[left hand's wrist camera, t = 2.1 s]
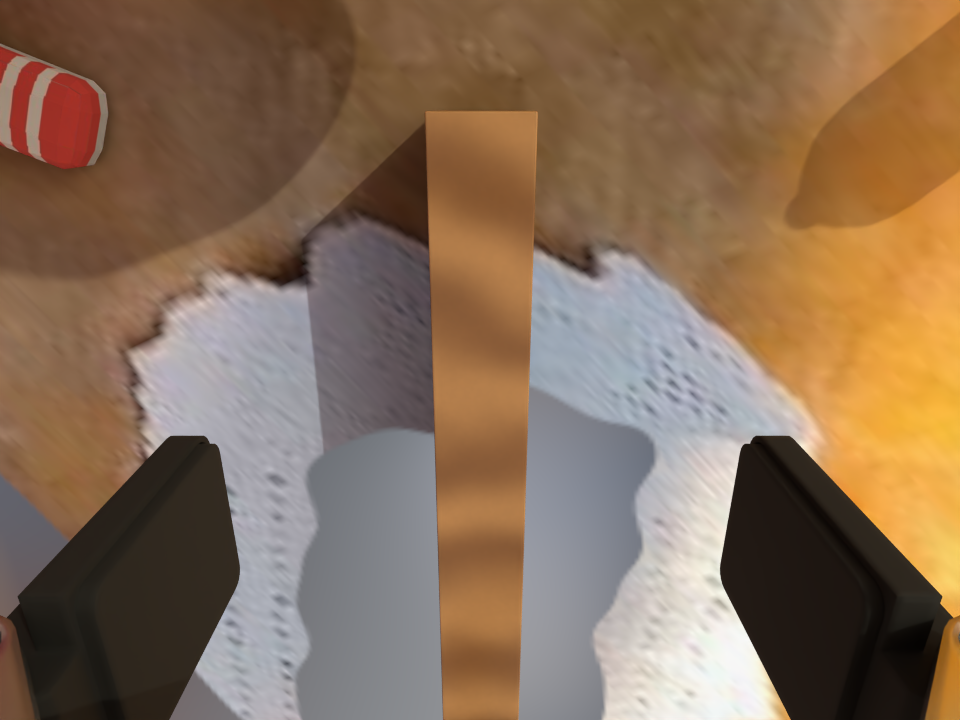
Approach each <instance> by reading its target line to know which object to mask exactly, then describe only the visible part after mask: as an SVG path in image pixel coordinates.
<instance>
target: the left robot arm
mask: <svg viewBox="0 0 960 720" xmlns="http://www.w3.org/2000/svg"><path fill="white" fill-rule="evenodd" d="M239 575H240V564H239V558H238V553H237V547H236V541H235V536H234V530H233V524H232V519H231V513H230V507H229V502H228V496H227V490H226V485H225V479H224V473H223V467H222V462H221V456H220V451H219V448H218V446H217V445H216V444H210V443H209V441H208V439H207V438H206V437H205V436H170V437H169V438H167V439H166V440H165V441H164V442H163V443H162V444H161V445H160V446H159V448H158V449H157V450H156V451H155V452H154V453H153V454H152V455H151V456H150V457H149V458H148V459H147V460H146V461H145V462H144V463H143V464H142V466H141V467H140V468H139V469H138V470H137V471H136V472H135V473H134V474H133V475H132V476H131V477H130V478H129V479H128V480H127V481H126V482H125V483H124V485H123V486H122V487H121V488H120V489H119V490H118V491H117V492H116V493H115V494H114V495H113V496H112V497H111V498H110V499H109V500H108V501H107V503H106V504H105V505H104V506H103V507H102V508H101V509H100V510H99V511H98V512H97V513H96V514H95V515H94V516H93V517H92V518H91V519H90V521H89V522H88V523H87V524H86V525H85V526H84V527H83V528H82V529H81V530H80V531H79V532H78V533H77V534H76V535H75V536H74V537H73V538H72V540H71V541H70V542H69V543H68V544H67V545H66V546H65V547H64V548H63V549H62V550H61V551H60V552H59V553H58V554H57V555H56V556H55V558H54V559H53V560H52V561H51V562H50V563H49V564H48V565H47V566H46V567H45V568H44V569H43V570H42V571H41V572H40V573H39V574H38V575H37V577H36V578H35V579H34V580H33V581H32V582H31V583H30V584H29V585H28V586H27V587H26V588H25V589H24V590H23V591H22V592H21V593H20V595H19V596H18V599H19V602H20V604H19V605H18V606H17V607H16V608H15V609H14V611H13V612H12V613H11V614H10V615H9V616H8V617H7V618H5V617H3V616H0V720H169V719H170V717H171V715H172V713H173V711H174V709H175V707H176V705H177V703H178V701H179V699H180V697H181V695H182V693H183V691H184V689H185V687H186V685H187V684H188V682H189V680H190V678H191V676H192V674H193V672H194V670H195V668H196V666H197V664H198V662H199V660H200V658H201V656H202V654H203V652H204V650H205V648H206V646H207V644H208V642H209V640H210V638H211V636H212V634H213V632H214V630H215V628H216V626H217V624H218V622H219V621H220V619H221V617H222V615H223V613H224V611H225V609H226V607H227V605H228V603H229V601H230V599H231V597H232V595H233V593H234V591H235V589H236V587H237V584H238V581H239ZM720 575H721V581H722V584H723V587H724V589H725V591H726V593H727V595H728V597H729V599H730V601H731V603H732V605H733V607H734V609H735V611H736V613H737V615H738V617H739V619H740V621H741V622H742V624H743V626H744V628H745V630H746V632H747V634H748V636H749V638H750V640H751V642H752V644H753V646H754V648H755V650H756V652H757V654H758V656H759V658H760V660H761V662H762V664H763V666H764V668H765V670H766V672H767V674H768V676H769V678H770V680H771V682H772V684H773V685H774V687H775V689H776V691H777V693H778V695H779V697H780V699H781V701H782V703H783V705H784V707H785V709H786V711H787V713H788V715H789V717H790V719H791V720H960V615H959V616H957V617H955V618H953V617H952V616H951V615H950V614H949V613H948V612H947V611H946V609H945V608H944V607H943V606H942V605H941V604H940V602H941V599H942V596H941V595H940V593H939V592H938V591H937V590H936V589H935V588H934V587H933V586H932V585H931V584H930V583H929V582H928V581H927V580H926V579H925V578H924V577H923V575H922V574H921V573H920V572H919V571H918V570H917V569H916V568H915V567H914V566H913V565H912V564H911V563H910V562H909V561H908V560H907V559H906V558H905V556H904V555H903V554H902V553H901V552H900V551H899V550H898V549H897V548H896V547H895V546H894V545H893V544H892V543H891V542H890V541H889V540H888V538H887V537H886V536H885V535H884V534H883V533H882V532H881V531H880V530H879V529H878V528H877V527H876V526H875V525H874V524H873V523H872V522H871V521H870V519H869V518H868V517H867V516H866V515H865V514H864V513H863V512H862V511H861V510H860V509H859V508H858V507H857V506H856V505H855V504H854V503H853V501H852V500H851V499H850V498H849V497H848V496H847V495H846V494H845V493H844V492H843V491H842V490H841V489H840V488H839V487H838V486H837V485H836V484H835V482H834V481H833V480H832V479H831V478H830V477H829V476H828V475H827V474H826V473H825V472H824V471H823V470H822V469H821V468H820V467H819V466H818V464H817V463H816V462H815V461H814V460H813V459H812V458H811V457H810V456H809V455H808V454H807V453H806V452H805V451H804V450H803V449H802V448H801V446H800V445H799V444H798V443H797V442H796V441H795V440H794V439H793V438H791V437H790V436H755V437H754V438H753V439H752V441H751V443H750V444H744V445H743V446H742V448H741V451H740V456H739V462H738V467H737V473H736V479H735V485H734V490H733V496H732V502H731V507H730V513H729V519H728V524H727V530H726V536H725V541H724V547H723V553H722V558H721V564H720Z"/></svg>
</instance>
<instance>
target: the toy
mask: <svg viewBox="0 0 960 720" xmlns="http://www.w3.org/2000/svg"><path fill="white" fill-rule="evenodd" d="M107 119H108V107H107V100H106V93H105V92H104V91H103V90H102V89H101V88H100V87H99V86H98V85H97V84H96V83H95V82H94V81H93V80H90V79H88V78H85V77H83V76H80V75H78V74H75V73H73V72H70V71H68V70H65V69H63V68H60V67H58V66H55V65H53V64H50V63H48V62H45V61H43V60H40V59H38V58H35V57H33V56H30V55H28V54H25V53H23V52H20V51H18V50H15V49H13V48H10V47H8V46H5V45H3V44H0V145H1V146H4V147H7V148H9V149H12V150H15V151H17V152H20V153H22V154H25V155H28V156H30V157H33V158H36V159H38V160H41V161H44V162H46V163H49V164H52V165H54V166H57V167H59V168H62V169H68V168H75V167H82V166H89V165H94V164H95V162H96V160H97V159H98V157H99V155H100V153H101V151H102V149H103V143H104V137H105V131H106V125H107Z"/></svg>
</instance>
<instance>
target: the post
mask: <svg viewBox="0 0 960 720" xmlns="http://www.w3.org/2000/svg"><path fill="white" fill-rule="evenodd" d="M537 120H538V112H537V111H515V110H437V111H426V112H425V136H426V169H427V202H428V235H429V268H430V301H431V334H432V367H433V400H434V434H435V466H436V500H437V533H438V566H439V599H440V632H441V665H442V698H443V720H518V716H519V683H520V653H521V621H522V590H523V558H524V527H525V496H526V465H527V434H528V402H529V371H530V339H531V308H532V277H533V245H534V214H535V183H536V151H537Z"/></svg>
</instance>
